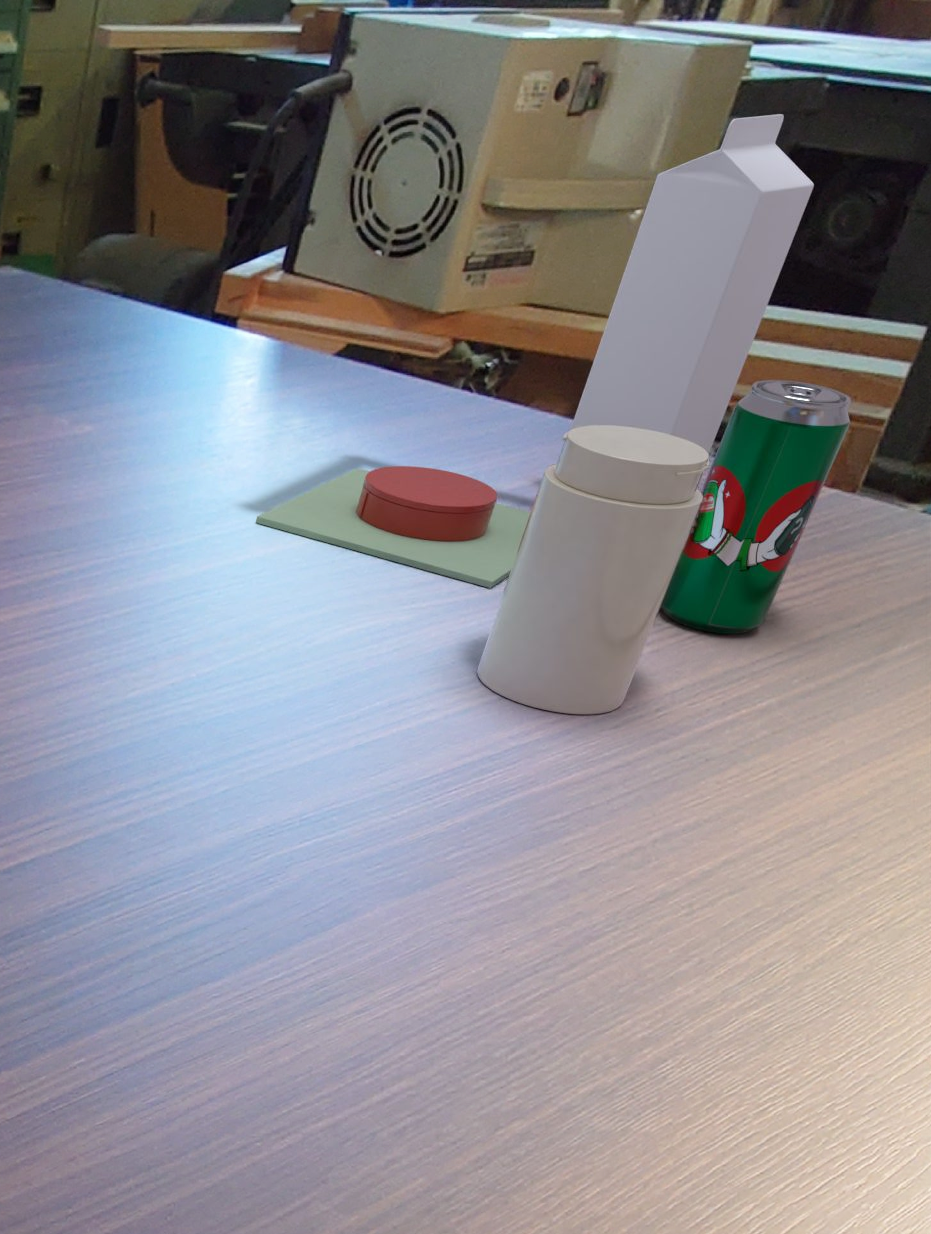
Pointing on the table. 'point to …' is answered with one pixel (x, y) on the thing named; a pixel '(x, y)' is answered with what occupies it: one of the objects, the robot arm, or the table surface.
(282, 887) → the table surface
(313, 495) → the mat
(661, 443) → the jar
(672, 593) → the soda can
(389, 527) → the lid
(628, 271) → the milk
